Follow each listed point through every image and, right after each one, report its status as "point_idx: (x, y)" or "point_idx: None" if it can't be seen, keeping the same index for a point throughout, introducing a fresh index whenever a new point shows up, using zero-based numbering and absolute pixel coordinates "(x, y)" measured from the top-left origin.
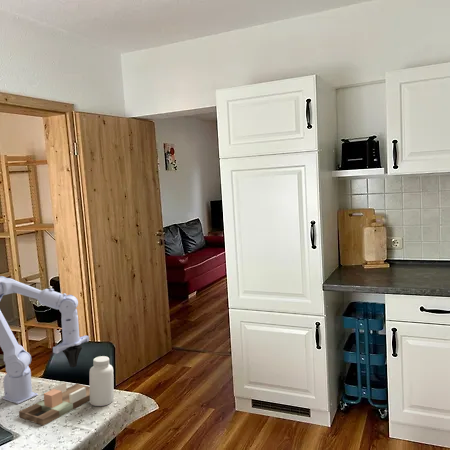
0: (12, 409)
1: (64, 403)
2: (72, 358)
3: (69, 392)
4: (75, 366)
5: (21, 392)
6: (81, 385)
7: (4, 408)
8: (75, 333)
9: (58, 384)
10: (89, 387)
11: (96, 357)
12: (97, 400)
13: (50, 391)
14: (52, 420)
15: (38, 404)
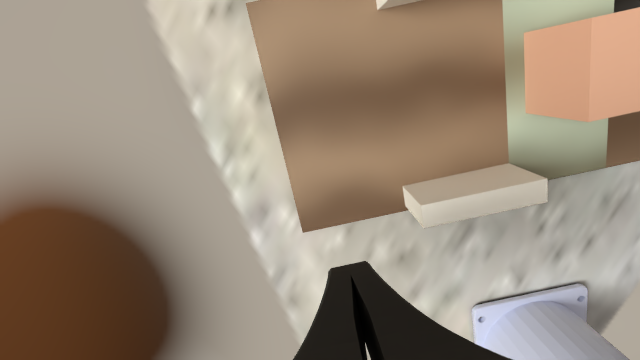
0: (625, 252)
1: (524, 7)
2: (423, 314)
3: (406, 147)
4: (342, 266)
5: (588, 330)
6: (300, 183)
7: (633, 289)
8: None
9: (470, 217)
10: (280, 108)
11: None
12: None
13: (634, 94)
14: None
15: (606, 140)
